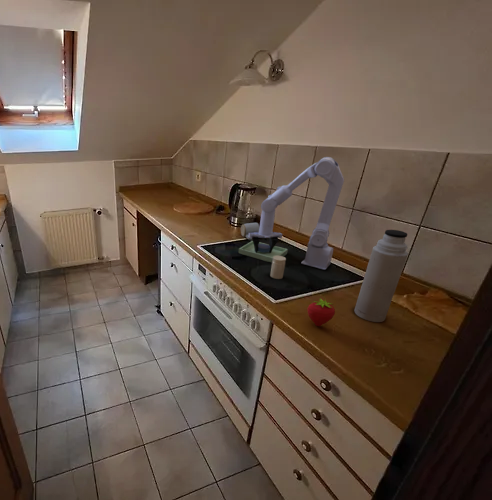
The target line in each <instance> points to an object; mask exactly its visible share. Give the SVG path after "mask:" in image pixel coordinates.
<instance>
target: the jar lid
mask: <svg viewBox="0 0 492 500" xmlns="http://www.w3.org/2000/svg"><path fill="white" fill-rule="evenodd" d="M266 244H267V243H265V244H259V245H258V251H259V252H269V251H270V246H269V245H266Z"/></svg>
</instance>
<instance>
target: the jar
mask: <svg viewBox="0 0 492 500" xmlns="http://www.w3.org/2000/svg"><path fill="white" fill-rule="evenodd" d="M286 261H287V258H286V257H285V256H284V257H283V256H273V260H272V263H271V267H270V273H269V277H270V278H272V279H276V280H282V279H283V278H284V274H285V268H286Z"/></svg>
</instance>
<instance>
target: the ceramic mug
mask: <svg viewBox="0 0 492 500" xmlns="http://www.w3.org/2000/svg"><path fill="white" fill-rule="evenodd" d="M259 228H260V223H258V222H250V223H249V222H248V223H243V224H241V225H240V235H241V237H243V238H246V239H247V240H248V241H250V242H251V241H253V240H252V238H249V237H248V235H249V233H254V232H259Z"/></svg>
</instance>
